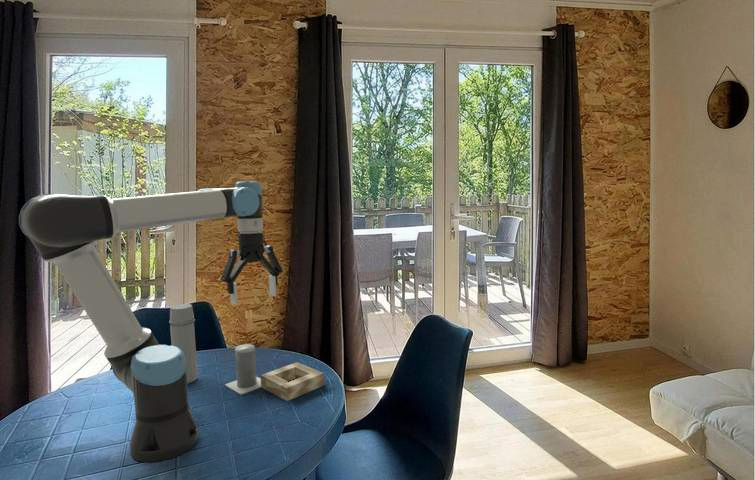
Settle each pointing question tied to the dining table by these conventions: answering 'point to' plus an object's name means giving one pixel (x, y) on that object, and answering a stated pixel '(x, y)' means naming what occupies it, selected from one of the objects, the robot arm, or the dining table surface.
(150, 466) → the dining table surface
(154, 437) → the robot arm
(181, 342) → the water bottle
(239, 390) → the pad
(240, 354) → the grey domed cylinder
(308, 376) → the housing
